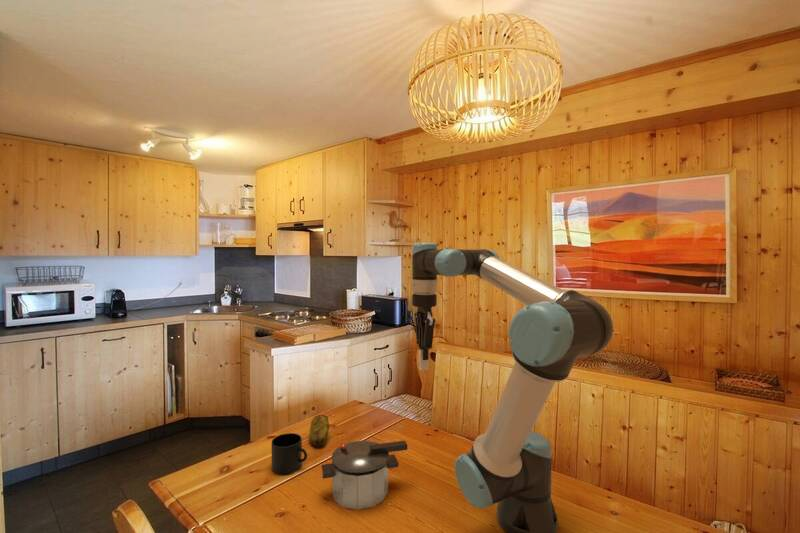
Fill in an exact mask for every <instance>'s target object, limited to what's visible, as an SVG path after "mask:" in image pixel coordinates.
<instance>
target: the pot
mask: <svg viewBox="0 0 800 533" xmlns="http://www.w3.org/2000/svg"><path fill="white" fill-rule="evenodd" d="M394 468H399V461H398V459H397V457H396V455H395V454H389V459H388V461H387V463H386V464H385V465H383V466H382V467H380V468H379V469H376V470H374V471H370V472H364V473H350V472H345V471H342V470H339V469H337V468H336V467H335V466H334V465H333V464H332V462H331V463H326V464H325V463H324V464H321V473H322V479H331V491H332V499H333V501H334V502H335V503H337V504H338V505H339V506H341V507H342V508H345V509H349V510H357V511H358V510H365V509H370V508H371V509H372V508H374V507H375V506H377V505H378V504H380V503H382V502H383V501H385V499H386V497H387V494H388V492H389V469H394Z"/></svg>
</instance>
